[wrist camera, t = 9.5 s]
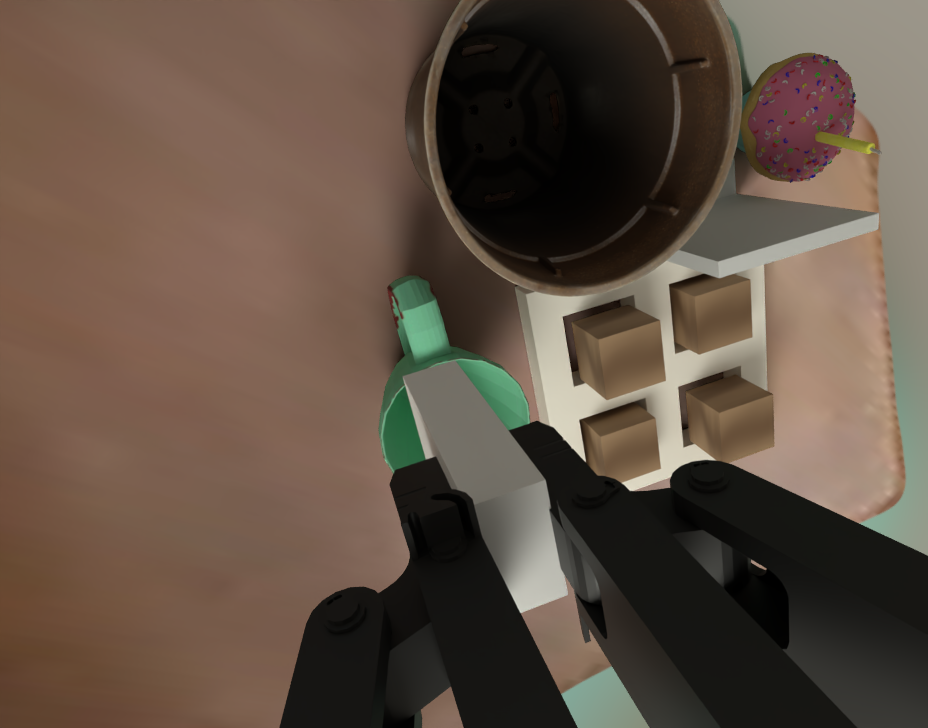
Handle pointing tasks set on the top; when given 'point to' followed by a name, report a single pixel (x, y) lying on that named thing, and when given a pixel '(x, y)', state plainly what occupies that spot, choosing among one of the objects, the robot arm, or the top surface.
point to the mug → (429, 349)
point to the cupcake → (798, 118)
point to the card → (764, 231)
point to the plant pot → (578, 134)
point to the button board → (574, 399)
